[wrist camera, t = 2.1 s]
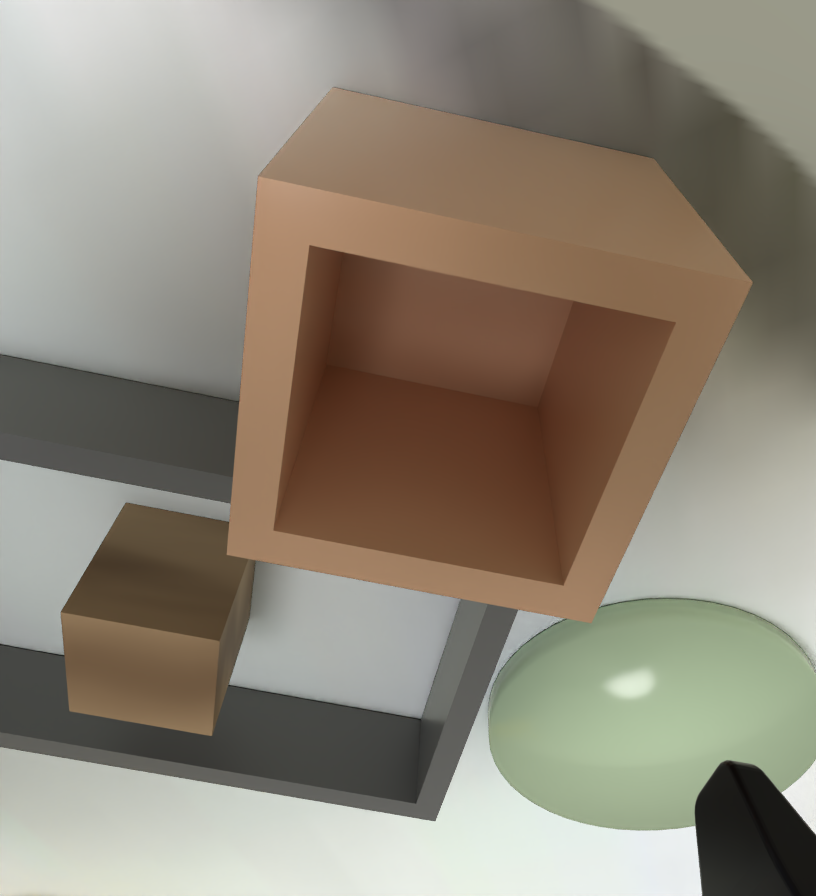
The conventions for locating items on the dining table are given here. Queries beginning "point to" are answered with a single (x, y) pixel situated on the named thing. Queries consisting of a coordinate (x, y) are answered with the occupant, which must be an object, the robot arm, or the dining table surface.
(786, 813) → the robot arm
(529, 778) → the plate
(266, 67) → the dining table surface
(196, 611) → the walnut block
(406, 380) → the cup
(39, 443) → the gray rectangular frame
